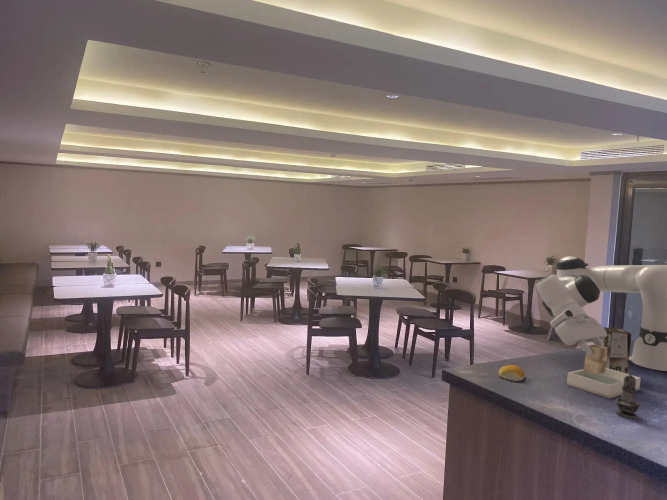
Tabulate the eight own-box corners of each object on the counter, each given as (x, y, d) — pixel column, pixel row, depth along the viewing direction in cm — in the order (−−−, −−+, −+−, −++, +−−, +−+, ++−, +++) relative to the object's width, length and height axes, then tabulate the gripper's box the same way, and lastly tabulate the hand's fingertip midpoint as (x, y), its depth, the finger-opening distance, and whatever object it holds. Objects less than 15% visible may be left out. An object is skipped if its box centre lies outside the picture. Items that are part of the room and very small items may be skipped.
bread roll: (524, 375, 167) (525, 364, 166) (523, 383, 158) (524, 371, 158) (499, 371, 170) (500, 360, 170) (497, 378, 162) (498, 367, 161)
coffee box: (627, 379, 167) (632, 333, 166) (607, 377, 169) (611, 331, 168) (618, 371, 176) (622, 328, 175) (598, 369, 178) (602, 326, 176)
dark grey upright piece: (644, 418, 133) (648, 375, 133) (628, 420, 131) (632, 376, 131) (624, 409, 139) (628, 368, 138) (609, 411, 137) (613, 369, 136)
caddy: (597, 377, 169) (598, 365, 168) (639, 389, 157) (640, 377, 157) (566, 384, 159) (567, 372, 158) (608, 398, 147) (610, 385, 147)
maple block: (592, 368, 159) (595, 344, 158) (604, 372, 155) (607, 347, 155) (583, 370, 156) (586, 346, 155) (596, 374, 153) (598, 349, 152)
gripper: (581, 319, 170) (607, 354, 163) (546, 324, 159) (571, 361, 152) (595, 309, 166) (622, 345, 158) (559, 313, 155) (586, 351, 148)
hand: (597, 353), depth 155 cm, fingers closed on maple block, 5 cm apart
